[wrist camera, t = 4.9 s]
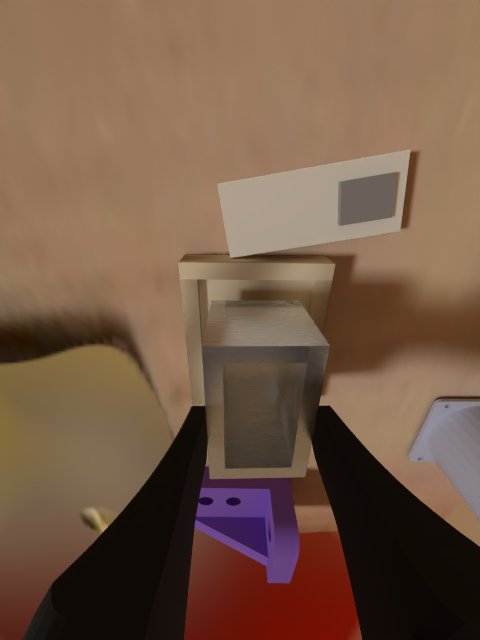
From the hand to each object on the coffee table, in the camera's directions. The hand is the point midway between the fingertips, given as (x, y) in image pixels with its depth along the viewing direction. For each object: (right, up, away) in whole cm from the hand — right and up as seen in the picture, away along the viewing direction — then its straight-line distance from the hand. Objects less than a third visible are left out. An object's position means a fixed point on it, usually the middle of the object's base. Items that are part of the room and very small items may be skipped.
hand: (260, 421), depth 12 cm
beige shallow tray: (0, +4, +7) cm, 8 cm away
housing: (0, +2, +4) cm, 5 cm away
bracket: (-2, -13, +16) cm, 21 cm away
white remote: (+3, +12, +4) cm, 13 cm away
